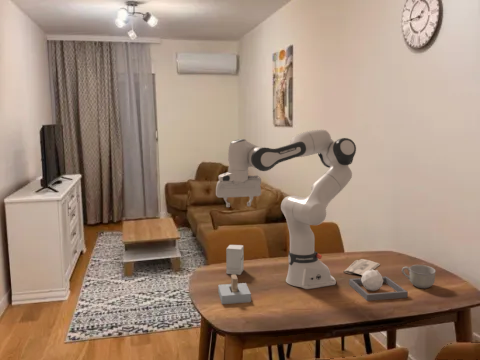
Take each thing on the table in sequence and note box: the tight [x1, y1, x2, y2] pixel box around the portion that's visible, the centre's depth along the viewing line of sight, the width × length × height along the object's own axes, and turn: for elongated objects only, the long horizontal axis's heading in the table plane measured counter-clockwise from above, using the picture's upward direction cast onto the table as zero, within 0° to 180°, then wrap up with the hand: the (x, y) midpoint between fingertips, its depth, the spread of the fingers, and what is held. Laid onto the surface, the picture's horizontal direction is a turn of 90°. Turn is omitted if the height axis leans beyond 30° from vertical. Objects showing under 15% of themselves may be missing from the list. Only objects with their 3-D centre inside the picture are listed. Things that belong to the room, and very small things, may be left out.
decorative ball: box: [361, 269, 384, 292], centre depth 191 cm, size 9×10×12 cm
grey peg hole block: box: [217, 282, 252, 305], centre depth 184 cm, size 12×12×4 cm
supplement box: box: [225, 244, 245, 276], centre depth 213 cm, size 7×7×13 cm
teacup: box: [401, 264, 437, 289], centre depth 196 cm, size 14×11×8 cm
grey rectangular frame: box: [348, 276, 409, 302], centre depth 190 cm, size 18×18×2 cm
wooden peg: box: [230, 274, 239, 293], centre depth 183 cm, size 2×5×8 cm, turn 9°
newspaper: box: [343, 258, 381, 276], centre depth 218 cm, size 23×12×2 cm, turn 144°
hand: (238, 206), depth 197 cm, fingers open, 8 cm apart
